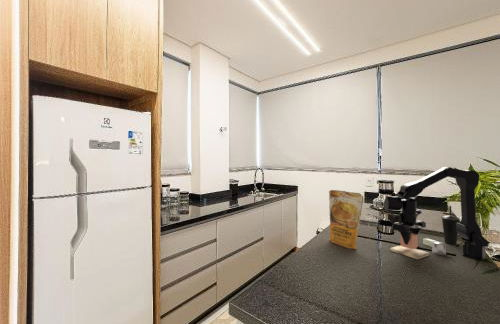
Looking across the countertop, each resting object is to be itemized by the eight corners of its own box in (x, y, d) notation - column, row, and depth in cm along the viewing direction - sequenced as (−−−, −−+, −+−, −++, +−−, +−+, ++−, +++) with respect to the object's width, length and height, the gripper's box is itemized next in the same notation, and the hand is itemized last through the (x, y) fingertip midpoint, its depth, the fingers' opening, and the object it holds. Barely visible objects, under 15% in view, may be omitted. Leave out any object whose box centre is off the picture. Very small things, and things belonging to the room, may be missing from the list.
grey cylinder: (447, 254, 110) (447, 243, 110) (442, 256, 107) (442, 245, 107) (435, 250, 114) (435, 240, 114) (430, 252, 112) (430, 242, 112)
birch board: (429, 255, 108) (429, 252, 108) (417, 259, 103) (417, 256, 103) (401, 247, 119) (401, 244, 119) (390, 250, 114) (390, 248, 114)
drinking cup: (464, 245, 121) (463, 207, 122) (449, 245, 122) (449, 207, 122) (451, 240, 129) (451, 204, 129) (437, 240, 129) (437, 204, 129)
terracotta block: (417, 247, 110) (417, 234, 110) (412, 249, 108) (411, 236, 108) (406, 244, 114) (406, 231, 115) (400, 245, 112) (400, 233, 112)
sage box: (439, 247, 119) (439, 242, 119) (434, 248, 118) (434, 242, 118) (427, 243, 124) (427, 238, 124) (423, 244, 124) (423, 238, 124)
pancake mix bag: (332, 238, 132) (332, 189, 133) (364, 249, 116) (364, 192, 116) (324, 240, 129) (324, 189, 129) (355, 251, 112) (355, 193, 113)
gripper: (402, 206, 123) (402, 236, 123) (380, 209, 114) (381, 241, 114) (426, 210, 113) (426, 242, 113) (405, 213, 104) (405, 248, 104)
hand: (409, 243), depth 111 cm, fingers closed on terracotta block, 5 cm apart
